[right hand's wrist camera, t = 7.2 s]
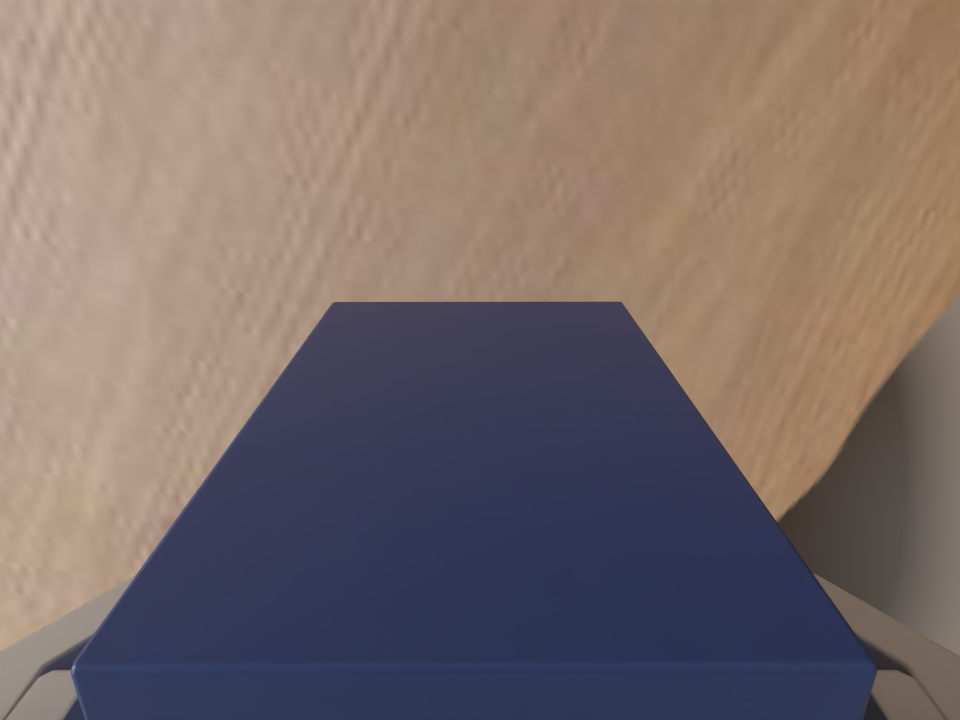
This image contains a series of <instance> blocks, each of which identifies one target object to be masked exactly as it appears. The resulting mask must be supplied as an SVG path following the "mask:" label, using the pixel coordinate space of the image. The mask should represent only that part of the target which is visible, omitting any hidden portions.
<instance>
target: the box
mask: <svg viewBox="0 0 960 720" xmlns="http://www.w3.org/2000/svg"><path fill="white" fill-rule="evenodd" d="M876 675H877V668H876V664H875V661H874V660H873V658H872V657H871V655H870V654H869V652H868V651H867V650H866V648H865V647H864V645H863V644H862V643H861V641H860V640H859V638H858V637H857V635H856V634H855V633H854V631H853V630H852V628H851V627H850V626H849V624H848V623H847V621H846V620H845V618H844V617H843V616H842V614H841V613H840V611H839V610H838V609H837V607H836V606H835V604H834V603H833V601H832V600H831V599H830V597H829V596H828V594H827V593H826V592H825V590H824V589H823V587H822V586H821V584H820V583H819V582H818V580H817V579H816V577H815V576H814V574H813V573H812V572H811V570H810V569H809V567H808V566H807V565H806V563H805V562H804V560H803V559H802V558H801V556H800V555H799V553H798V552H797V550H796V549H795V548H794V546H793V545H792V543H791V542H790V540H789V539H788V538H787V536H786V535H785V533H784V532H783V531H782V529H781V528H780V526H779V525H778V523H777V522H776V521H775V519H774V518H773V516H772V515H771V513H770V512H769V511H768V509H767V508H766V506H765V505H764V504H763V502H762V501H761V499H760V498H759V496H758V495H757V494H756V492H755V491H754V489H753V488H752V487H751V485H750V484H749V482H748V481H747V479H746V478H745V477H744V475H743V474H742V472H741V471H740V470H739V468H738V467H737V465H736V464H735V462H734V461H733V460H732V458H731V457H730V455H729V454H728V452H727V451H726V450H725V448H724V447H723V445H722V444H721V443H720V441H719V440H718V438H717V437H716V435H715V434H714V433H713V431H712V430H711V428H710V427H709V426H708V424H707V423H706V421H705V420H704V418H703V417H702V416H701V414H700V413H699V411H698V410H697V409H696V407H695V406H694V404H693V403H692V401H691V400H690V399H689V397H688V396H687V394H686V393H685V391H684V390H683V389H682V387H681V386H680V384H679V383H678V382H677V380H676V379H675V377H674V376H673V374H672V373H671V372H670V370H669V369H668V367H667V366H666V365H665V363H664V362H663V360H662V359H661V357H660V356H659V355H658V353H657V352H656V350H655V349H654V348H653V346H652V345H651V343H650V342H649V340H648V339H647V338H646V336H645V335H644V333H643V332H642V330H641V329H640V328H639V326H638V325H637V323H636V322H635V321H634V319H633V318H632V316H631V315H630V313H629V312H628V311H627V309H626V308H625V306H624V305H623V304H622V303H621V302H334V303H332V305H331V306H330V307H329V309H328V310H327V311H326V313H325V314H324V316H323V317H322V318H321V320H320V321H319V323H318V324H317V325H316V327H315V328H314V329H313V331H312V332H311V334H310V335H309V336H308V338H307V339H306V341H305V342H304V343H303V345H302V346H301V347H300V349H299V350H298V352H297V353H296V354H295V356H294V357H293V359H292V360H291V361H290V363H289V364H288V366H287V367H286V368H285V370H284V371H283V372H282V374H281V375H280V377H279V378H278V379H277V381H276V382H275V384H274V385H273V386H272V388H271V389H270V390H269V392H268V393H267V395H266V396H265V397H264V399H263V400H262V402H261V403H260V404H259V406H258V407H257V408H256V410H255V411H254V413H253V414H252V415H251V417H250V418H249V420H248V421H247V422H246V424H245V425H244V426H243V428H242V429H241V431H240V432H239V433H238V435H237V436H236V438H235V439H234V440H233V442H232V443H231V444H230V446H229V447H228V449H227V450H226V451H225V453H224V454H223V456H222V457H221V458H220V460H219V461H218V463H217V464H216V465H215V467H214V468H213V469H212V471H211V472H210V474H209V475H208V476H207V478H206V479H205V481H204V482H203V483H202V485H201V486H200V487H199V489H198V490H197V492H196V493H195V494H194V496H193V497H192V499H191V500H190V501H189V503H188V504H187V505H186V507H185V508H184V510H183V511H182V512H181V514H180V515H179V517H178V518H177V519H176V521H175V522H174V523H173V525H172V526H171V528H170V529H169V530H168V532H167V533H166V535H165V536H164V537H163V539H162V540H161V541H160V543H159V544H158V546H157V547H156V548H155V550H154V551H153V553H152V554H151V555H150V557H149V558H148V560H147V561H146V562H145V564H144V565H143V566H142V568H141V569H140V571H139V572H138V573H137V575H136V576H135V578H134V579H133V580H132V582H131V583H130V584H129V586H128V587H127V589H126V590H125V591H124V593H123V594H122V596H121V597H120V598H119V600H118V601H117V602H116V604H115V605H114V607H113V608H112V609H111V611H110V612H109V614H108V615H107V616H106V618H105V619H104V620H103V622H102V623H101V625H100V626H99V627H98V629H97V630H96V632H95V633H94V634H93V636H92V637H91V639H90V640H89V641H88V643H87V644H86V645H85V647H84V648H83V650H82V651H81V652H80V654H79V655H78V657H77V658H76V659H75V661H74V662H73V665H72V668H71V677H72V680H73V683H74V686H75V689H76V693H77V696H78V699H79V702H80V705H81V709H82V712H83V715H84V718H85V720H863V718H864V714H865V711H866V708H867V704H868V701H869V698H870V694H871V691H872V688H873V685H874V681H875V678H876Z"/></svg>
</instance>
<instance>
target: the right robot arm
mask: <svg viewBox="0 0 960 720" xmlns="http://www.w3.org/2000/svg"><path fill="white" fill-rule="evenodd" d="M135 576H136V575H135ZM135 576H134V577H132V578H130V579H128V580H126V581H125V582H123V583H121V584H119V585H117V586H116V587H114V588H112V589H110V590H109V591H107V592H105V593H103V594H101V595H100V596H98V597H96V598H94V599H93V600H91V601H89V602H87V603H85V604H84V605H82V606H80V607H78V608H77V609H75V610H73V611H71V612H69V613H68V614H66V615H64V616H62V617H60V618H59V619H57V620H55V621H53V622H52V623H50V624H48V625H46V626H44V627H43V628H41V629H39V630H37V631H36V632H34V633H32V634H30V635H28V636H27V637H25V638H23V639H21V640H20V641H18V642H16V643H14V644H12V645H11V646H9V647H7V648H5V649H4V650H2V651H0V720H85V718H84V715H83V712H82V709H81V705H80V702H79V699H78V696H77V693H76V689H75V686H74V683H73V680H72V677H71V668H72V665H73V662H74V661H75V659H76V658H77V657H78V655H79V654H80V652H81V651H82V650H83V648H84V647H85V645H86V644H87V643H88V641H89V640H90V639H91V637H92V636H93V634H94V633H95V632H96V630H97V629H98V627H99V626H100V625H101V623H102V622H103V620H104V619H105V618H106V616H107V615H108V614H109V612H110V611H111V609H112V608H113V607H114V605H115V604H116V602H117V601H118V600H119V598H120V597H121V596H122V594H123V593H124V591H125V590H126V589H127V587H128V586H129V584H130V583H131V582H132V580H133V579H134V578H135ZM814 576H815V577H816V579H817V580H818V582H819V583H820V584H821V586H822V587H823V589H824V590H825V592H826V593H827V594H828V596H829V597H830V599H831V600H832V601H833V603H834V604H835V606H836V607H837V609H838V610H839V611H840V613H841V614H842V616H843V617H844V618H845V620H846V621H847V623H848V624H849V626H850V627H851V628H852V630H853V631H854V633H855V634H856V635H857V637H858V638H859V640H860V641H861V643H862V644H863V645H864V647H865V648H866V650H867V651H868V652H869V654H870V655H871V657H872V658H873V660H874V661H875V664H876V668H877V675H876V678H875V681H874V685H873V688H872V691H871V694H870V698H869V701H868V704H867V708H866V711H865V714H864V718H863V720H960V656H958V655H957V654H955V653H953V652H951V651H950V650H948V649H946V648H944V647H943V646H941V645H939V644H937V643H935V642H934V641H932V640H930V639H928V638H927V637H925V636H923V635H921V634H920V633H918V632H916V631H914V630H913V629H911V628H909V627H907V626H906V625H904V624H902V623H900V622H899V621H897V620H895V619H893V618H891V617H890V616H888V615H886V614H884V613H883V612H881V611H879V610H877V609H876V608H874V607H872V606H870V605H869V604H867V603H865V602H863V601H862V600H860V599H858V598H856V597H854V596H853V595H851V594H849V593H847V592H846V591H844V590H842V589H841V588H839V587H837V586H835V585H833V584H832V583H830V582H828V581H826V580H825V579H823V578H821V577H819V576H818V575H816V574H814Z"/></svg>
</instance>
